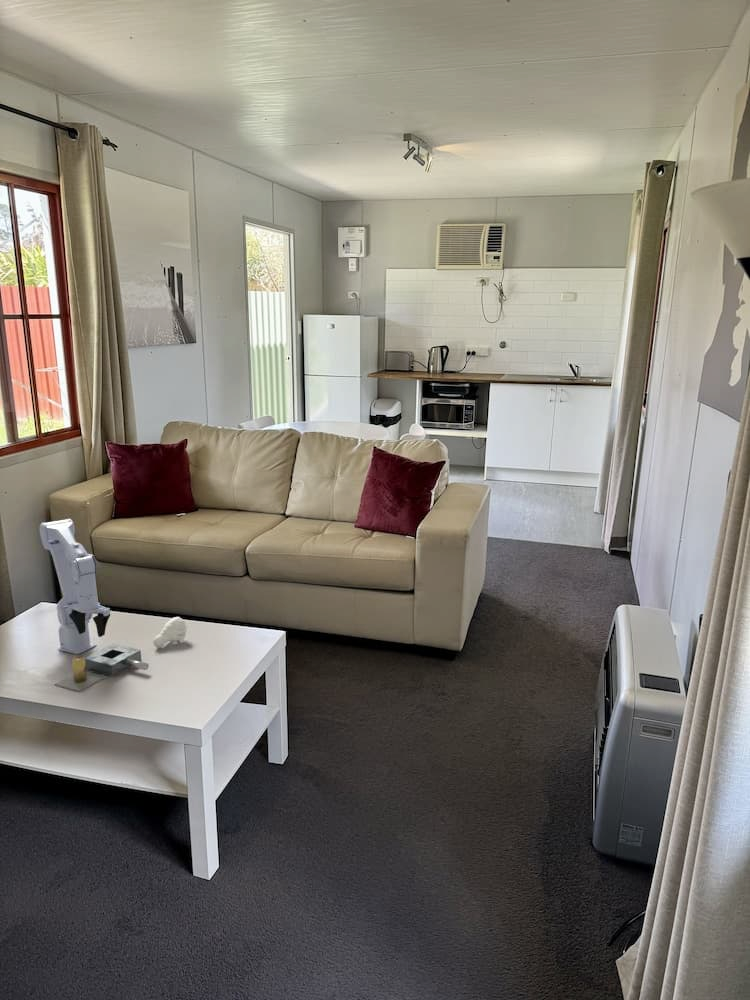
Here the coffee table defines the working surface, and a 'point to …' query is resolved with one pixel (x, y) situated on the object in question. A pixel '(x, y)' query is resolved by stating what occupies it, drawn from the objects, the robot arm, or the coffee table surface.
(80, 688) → the rubber mat
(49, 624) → the coffee table surface
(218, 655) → the coffee table surface
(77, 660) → the gold metal cylinder
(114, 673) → the chuck block
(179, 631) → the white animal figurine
